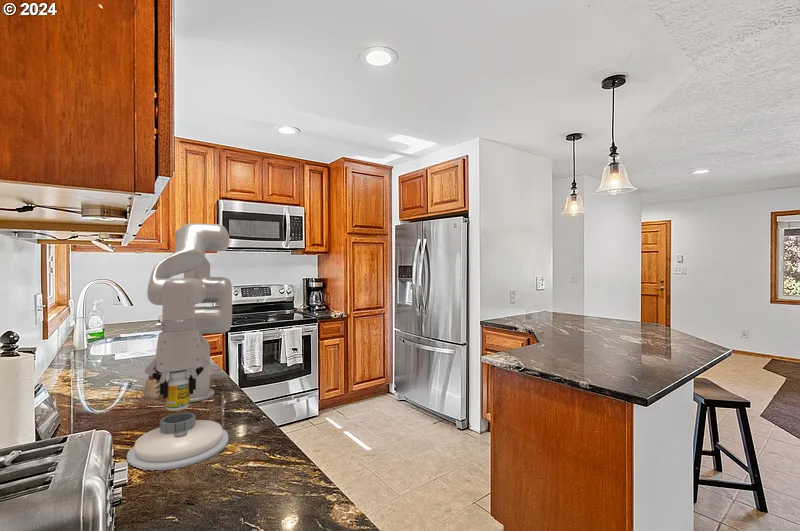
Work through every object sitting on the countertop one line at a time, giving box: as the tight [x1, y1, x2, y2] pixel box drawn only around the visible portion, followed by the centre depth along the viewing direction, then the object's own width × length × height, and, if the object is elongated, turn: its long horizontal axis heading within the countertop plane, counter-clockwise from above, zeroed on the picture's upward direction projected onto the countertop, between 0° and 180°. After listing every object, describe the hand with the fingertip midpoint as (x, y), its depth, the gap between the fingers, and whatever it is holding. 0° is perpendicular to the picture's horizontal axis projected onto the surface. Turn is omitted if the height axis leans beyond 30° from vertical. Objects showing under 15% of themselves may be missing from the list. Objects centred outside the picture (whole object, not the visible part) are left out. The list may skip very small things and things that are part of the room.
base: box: [126, 428, 229, 472], centre depth 96 cm, size 22×22×1 cm
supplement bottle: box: [165, 370, 191, 412], centre depth 101 cm, size 5×5×10 cm
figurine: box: [143, 366, 168, 400], centre depth 135 cm, size 7×7×12 cm
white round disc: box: [134, 412, 223, 462], centre depth 96 cm, size 19×19×4 cm
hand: (178, 394), depth 101 cm, fingers closed on supplement bottle, 5 cm apart
